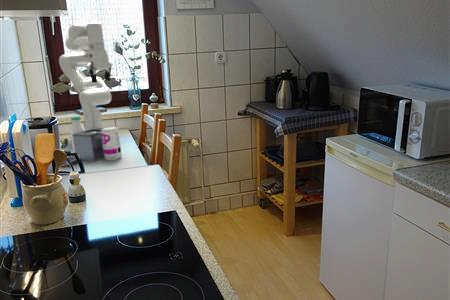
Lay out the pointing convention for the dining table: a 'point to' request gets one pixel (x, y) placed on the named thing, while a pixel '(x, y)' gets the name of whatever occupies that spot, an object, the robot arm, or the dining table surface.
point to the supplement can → (111, 143)
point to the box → (89, 144)
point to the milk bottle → (76, 128)
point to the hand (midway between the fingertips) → (101, 81)
